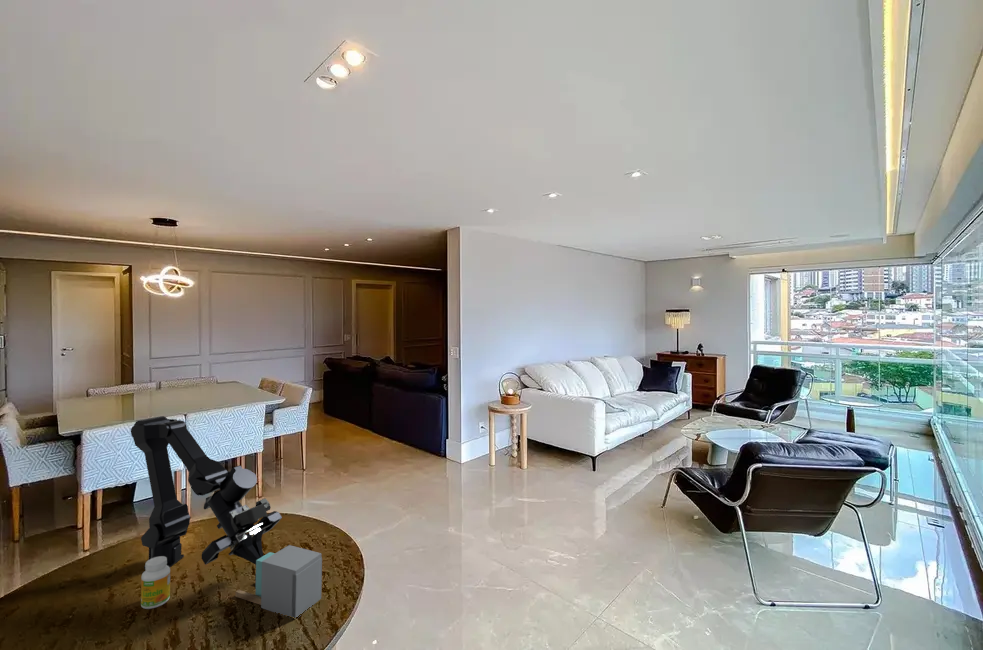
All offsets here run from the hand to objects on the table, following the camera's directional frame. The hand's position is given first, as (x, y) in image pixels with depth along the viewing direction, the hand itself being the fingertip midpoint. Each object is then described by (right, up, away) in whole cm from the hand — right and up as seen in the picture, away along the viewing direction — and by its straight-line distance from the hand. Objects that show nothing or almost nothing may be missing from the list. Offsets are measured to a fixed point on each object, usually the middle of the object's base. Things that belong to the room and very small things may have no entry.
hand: (262, 564), depth 106 cm
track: (0, -7, 0) cm, 7 cm away
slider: (+4, -7, -1) cm, 8 cm away
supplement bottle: (-23, -7, -4) cm, 24 cm away
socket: (+9, -7, -3) cm, 12 cm away
